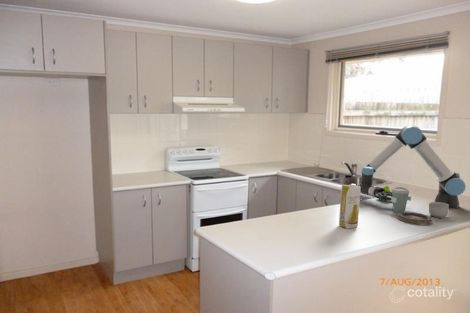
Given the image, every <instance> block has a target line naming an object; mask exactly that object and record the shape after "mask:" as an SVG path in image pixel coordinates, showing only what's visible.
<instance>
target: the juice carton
mask: <svg viewBox="0 0 470 313" xmlns="http://www.w3.org/2000/svg"><path fill="white" fill-rule="evenodd" d="M360 189H361V187H360V186H358V184H356V183H351V184H345V185H344V184H343V185H341V192H340V203H339V204H340V205H339V217H338V226H340V227H342V228H344V229H346V230H347V229H355V228H358V226H359V225H358V224H359V213H360V212H359V211H360V201H361V193H360Z"/></svg>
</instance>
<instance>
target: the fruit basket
mask: <svg viewBox="0 0 470 313" xmlns="http://www.w3.org/2000/svg"><path fill="white" fill-rule="evenodd" d="M382 188H384V190H385V191H388V192H389V191H391V189H390V187H389V186H388V185H385V186H383V187H382ZM377 199H378V200H379V201H383V202H391V203H393V202H392V201H388V200H386V201H384V200H382V199H379V198H377Z"/></svg>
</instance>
